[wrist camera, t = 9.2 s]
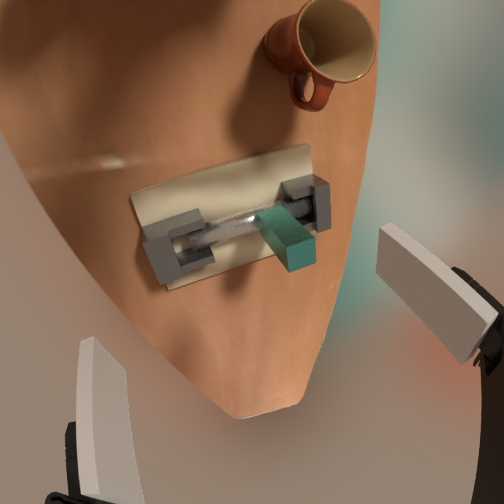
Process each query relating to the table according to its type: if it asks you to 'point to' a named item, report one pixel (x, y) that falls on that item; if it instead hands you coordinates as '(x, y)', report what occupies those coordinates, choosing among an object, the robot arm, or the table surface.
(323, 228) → the socket
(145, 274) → the table surface
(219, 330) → the table surface
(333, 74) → the mug
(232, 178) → the board
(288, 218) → the teal and grey t-piece
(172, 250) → the bracket
